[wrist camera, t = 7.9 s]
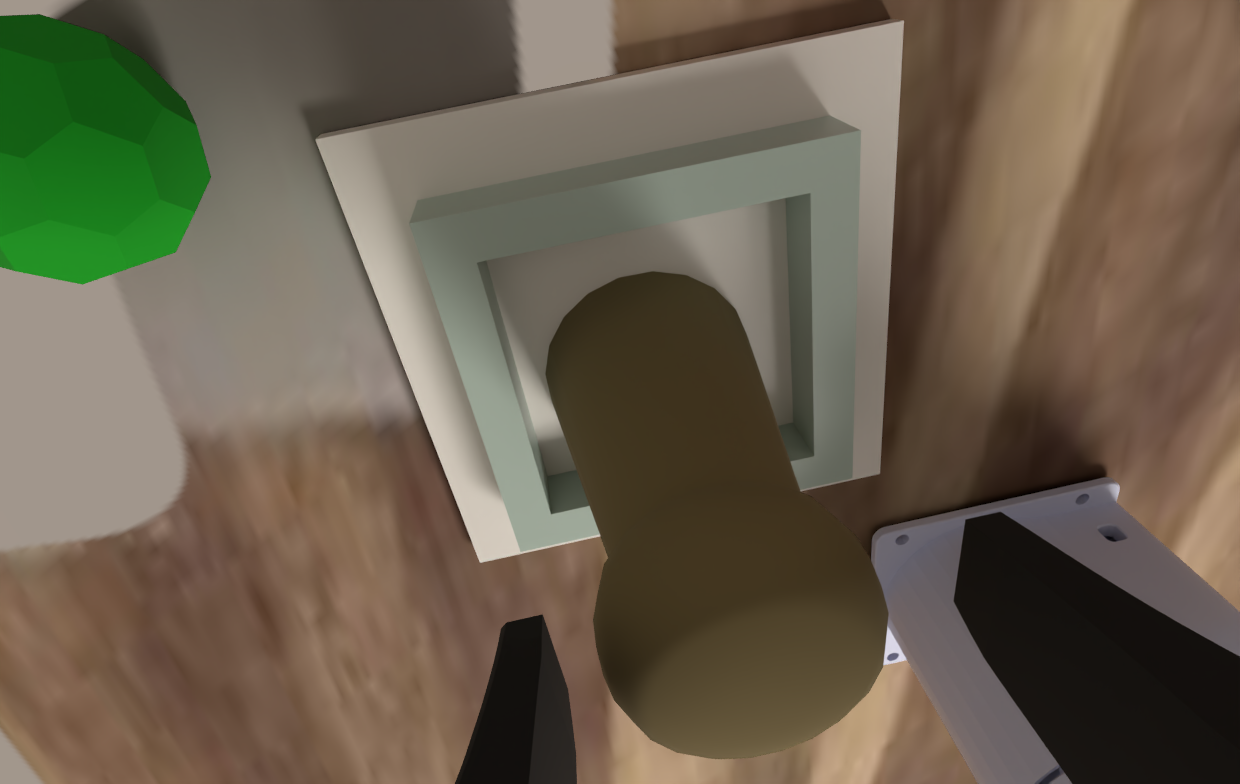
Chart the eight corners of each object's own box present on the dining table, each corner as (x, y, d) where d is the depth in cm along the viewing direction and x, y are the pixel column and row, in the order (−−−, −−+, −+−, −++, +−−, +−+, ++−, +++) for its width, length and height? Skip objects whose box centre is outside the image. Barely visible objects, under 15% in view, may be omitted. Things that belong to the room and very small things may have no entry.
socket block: (892, 18, 17) (944, 26, 15) (872, 463, 24) (905, 508, 22) (321, 133, 16) (295, 158, 14) (480, 550, 24) (478, 604, 22)
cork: (584, 475, 22) (641, 844, 13) (513, 314, 19) (521, 653, 10) (765, 414, 22) (956, 746, 13) (725, 240, 19) (941, 516, 9)
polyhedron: (-53, 5, 14) (-271, 22, 10) (203, 10, 15) (92, 28, 11) (47, 240, 17) (-96, 327, 13) (260, 235, 18) (188, 317, 14)
